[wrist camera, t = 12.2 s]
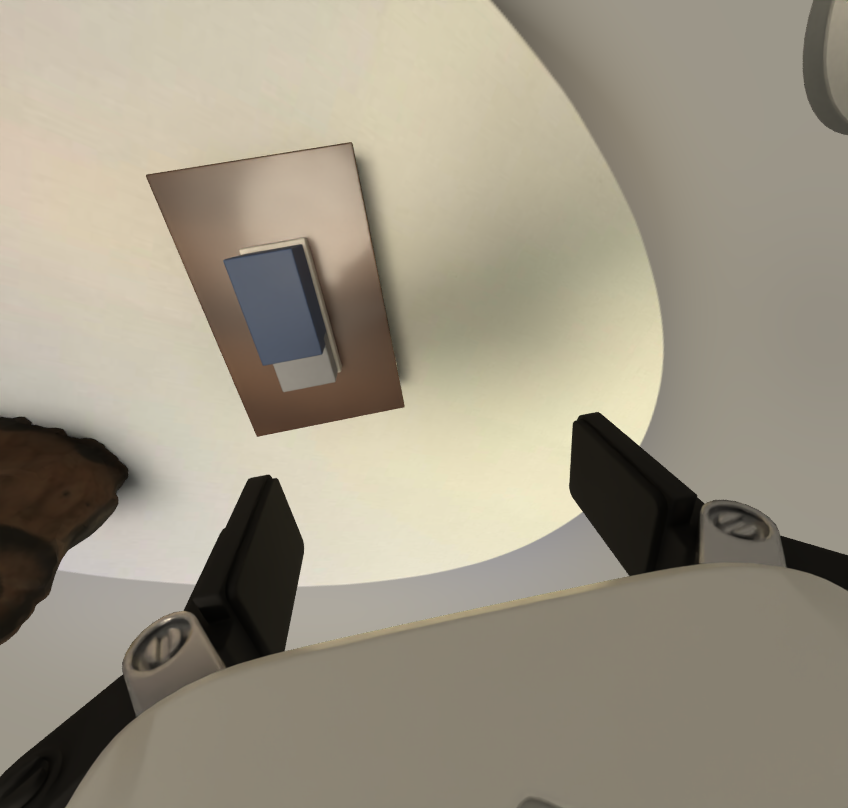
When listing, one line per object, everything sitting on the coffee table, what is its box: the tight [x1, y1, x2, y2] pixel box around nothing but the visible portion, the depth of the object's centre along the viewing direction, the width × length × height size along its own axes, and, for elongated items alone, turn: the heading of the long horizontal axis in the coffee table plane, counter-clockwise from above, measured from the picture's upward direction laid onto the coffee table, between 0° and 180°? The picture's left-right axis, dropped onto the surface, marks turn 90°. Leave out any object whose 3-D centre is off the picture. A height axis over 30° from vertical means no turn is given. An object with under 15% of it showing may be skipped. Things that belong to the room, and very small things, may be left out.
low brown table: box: [146, 142, 405, 437], centre depth 28 cm, size 18×12×6 cm, turn 9°
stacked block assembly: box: [223, 238, 342, 392], centre depth 23 cm, size 9×4×5 cm, turn 9°
